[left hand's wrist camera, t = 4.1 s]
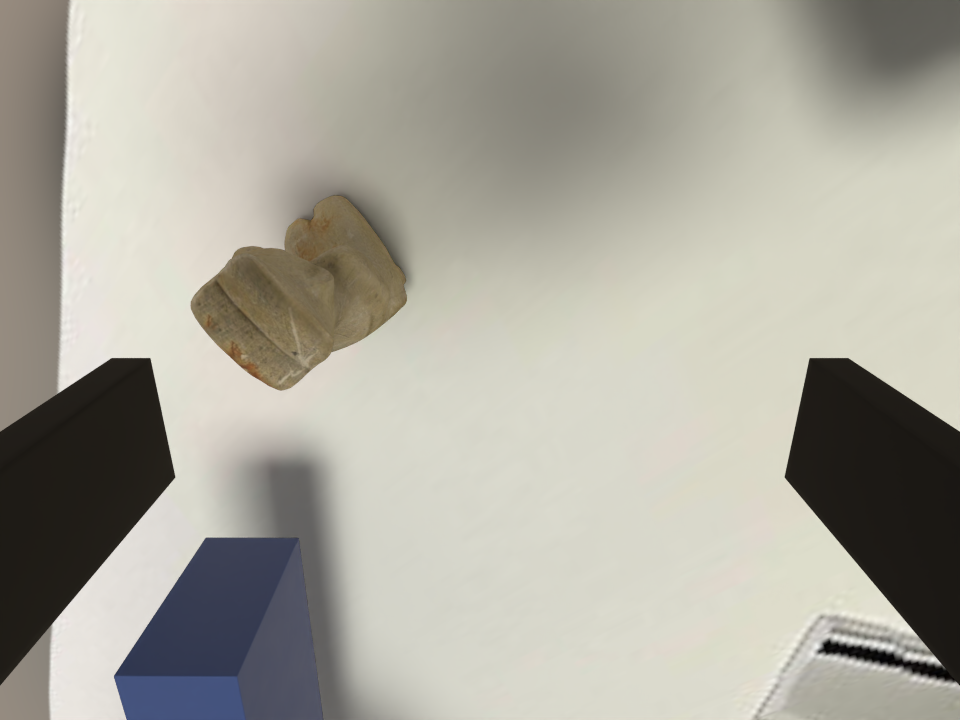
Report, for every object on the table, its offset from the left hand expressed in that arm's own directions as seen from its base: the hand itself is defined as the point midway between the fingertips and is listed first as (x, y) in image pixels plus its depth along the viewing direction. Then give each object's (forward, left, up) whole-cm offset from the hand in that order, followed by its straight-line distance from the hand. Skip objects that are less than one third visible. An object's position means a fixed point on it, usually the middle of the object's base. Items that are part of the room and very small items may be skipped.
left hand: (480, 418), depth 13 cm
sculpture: (+4, -7, -25) cm, 26 cm away
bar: (+31, -4, -16) cm, 35 cm away
